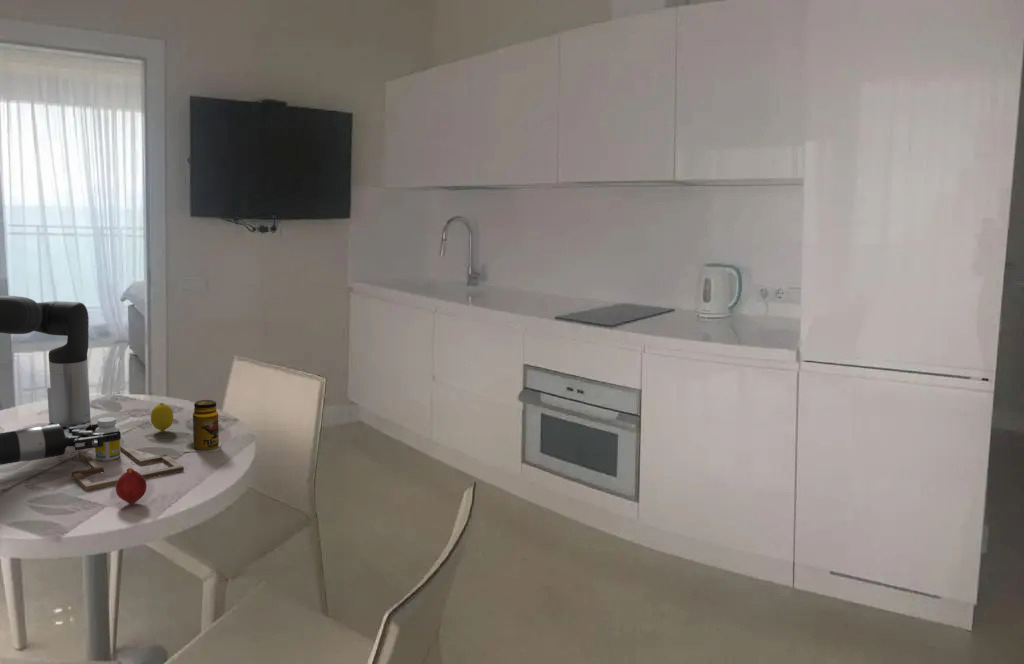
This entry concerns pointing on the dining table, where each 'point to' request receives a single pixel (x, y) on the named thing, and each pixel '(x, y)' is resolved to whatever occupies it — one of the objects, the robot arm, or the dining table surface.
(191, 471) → the dining table surface
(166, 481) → the dining table surface
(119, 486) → the onion
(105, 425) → the supplement bottle
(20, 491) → the dining table surface
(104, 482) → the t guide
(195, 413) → the condiment
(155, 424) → the lemon
